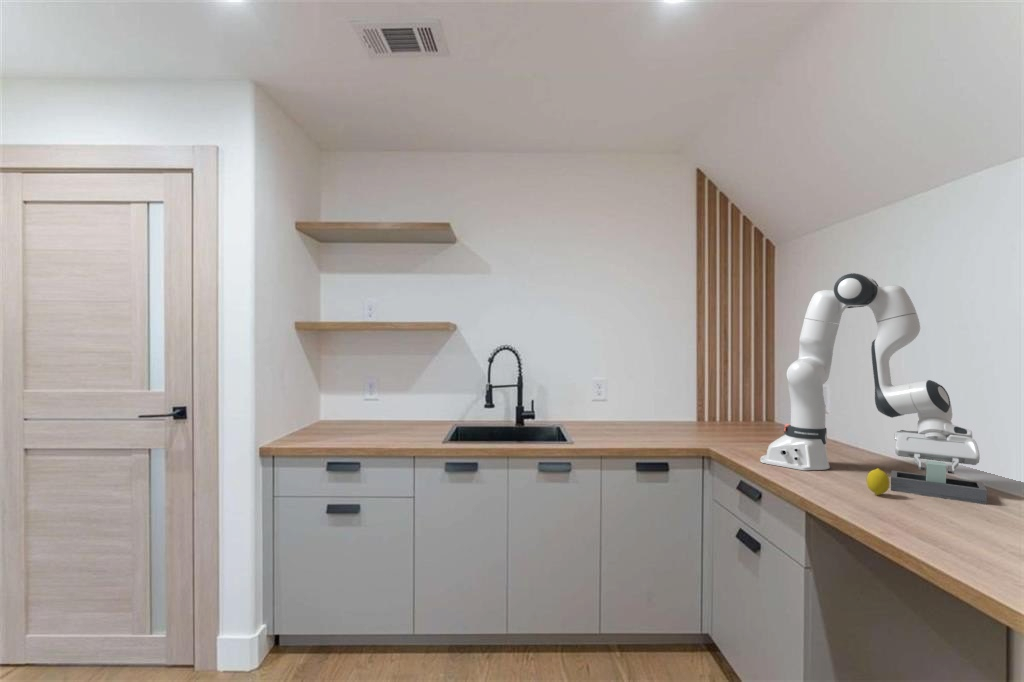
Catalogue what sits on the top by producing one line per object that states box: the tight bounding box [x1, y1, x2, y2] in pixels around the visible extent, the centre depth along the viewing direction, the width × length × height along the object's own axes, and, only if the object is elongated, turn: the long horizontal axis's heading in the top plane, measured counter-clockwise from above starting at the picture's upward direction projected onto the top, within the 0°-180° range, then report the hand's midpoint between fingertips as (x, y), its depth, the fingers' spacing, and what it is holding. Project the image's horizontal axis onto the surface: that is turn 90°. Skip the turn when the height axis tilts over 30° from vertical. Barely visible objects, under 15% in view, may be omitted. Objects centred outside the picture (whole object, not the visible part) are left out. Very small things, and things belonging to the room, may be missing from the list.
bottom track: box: [890, 470, 988, 505], centre depth 160 cm, size 22×10×4 cm, turn 54°
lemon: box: [866, 467, 890, 496], centre depth 157 cm, size 6×6×8 cm
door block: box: [925, 460, 947, 484], centre depth 160 cm, size 4×4×8 cm
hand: (936, 470), depth 159 cm, fingers open, 5 cm apart
